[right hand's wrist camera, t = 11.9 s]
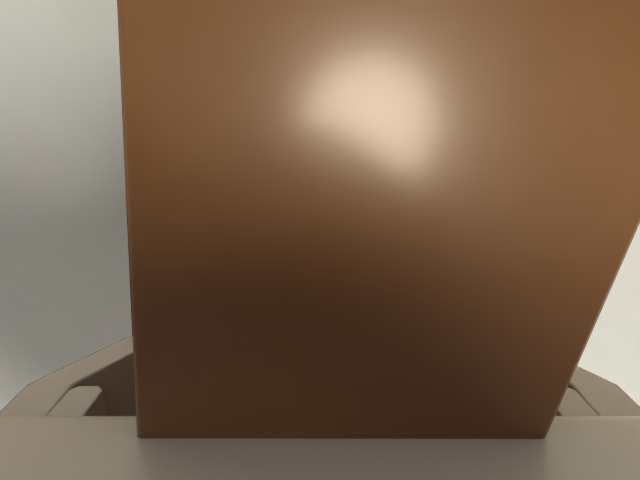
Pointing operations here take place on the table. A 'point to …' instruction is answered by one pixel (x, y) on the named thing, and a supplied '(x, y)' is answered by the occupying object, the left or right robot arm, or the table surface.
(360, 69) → the bar
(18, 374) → the table surface
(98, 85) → the table surface
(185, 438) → the right robot arm
